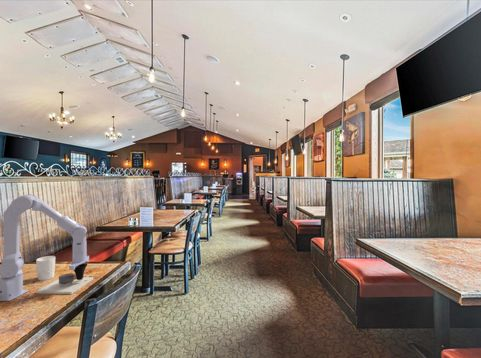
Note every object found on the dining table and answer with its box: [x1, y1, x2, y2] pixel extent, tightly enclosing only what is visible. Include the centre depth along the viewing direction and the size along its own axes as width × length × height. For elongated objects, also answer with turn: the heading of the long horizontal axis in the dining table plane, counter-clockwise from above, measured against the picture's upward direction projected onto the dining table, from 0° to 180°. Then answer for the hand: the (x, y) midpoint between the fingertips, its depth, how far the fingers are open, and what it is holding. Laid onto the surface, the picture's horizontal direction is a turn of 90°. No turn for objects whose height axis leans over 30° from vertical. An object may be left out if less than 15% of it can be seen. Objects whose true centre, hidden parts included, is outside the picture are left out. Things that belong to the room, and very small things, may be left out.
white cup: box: [35, 255, 56, 281], centre depth 133 cm, size 8×8×10 cm
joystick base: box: [35, 276, 94, 295], centre depth 123 cm, size 16×16×2 cm
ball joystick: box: [58, 272, 85, 284], centre depth 124 cm, size 10×6×2 cm, turn 132°
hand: (79, 279), depth 125 cm, fingers closed
